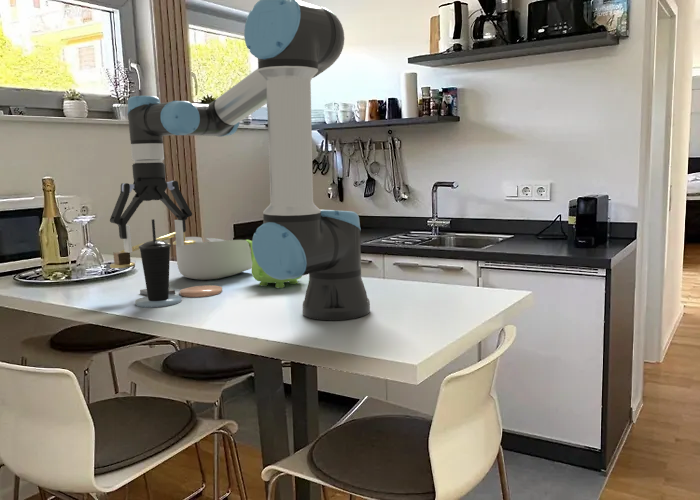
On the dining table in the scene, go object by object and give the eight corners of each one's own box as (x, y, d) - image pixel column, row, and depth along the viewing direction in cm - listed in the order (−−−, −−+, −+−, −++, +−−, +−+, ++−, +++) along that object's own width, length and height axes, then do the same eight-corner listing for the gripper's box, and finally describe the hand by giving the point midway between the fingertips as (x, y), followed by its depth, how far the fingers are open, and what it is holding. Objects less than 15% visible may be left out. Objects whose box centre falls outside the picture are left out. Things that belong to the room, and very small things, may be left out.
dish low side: (189, 301, 156) (189, 298, 156) (148, 309, 148) (147, 306, 148) (169, 295, 164) (168, 292, 164) (128, 302, 156) (128, 299, 156)
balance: (204, 288, 171) (200, 229, 169) (120, 304, 156) (114, 238, 153) (190, 284, 177) (186, 227, 175) (107, 299, 161) (102, 236, 159)
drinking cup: (165, 303, 151) (159, 220, 149) (136, 302, 153) (130, 221, 150) (179, 296, 159) (174, 217, 156) (152, 295, 160) (146, 218, 158)
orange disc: (230, 291, 166) (230, 288, 166) (193, 299, 159) (192, 296, 158) (208, 286, 174) (208, 283, 174) (172, 293, 167) (172, 290, 166)
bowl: (164, 279, 188) (161, 240, 186) (211, 269, 203) (209, 232, 202) (211, 285, 176) (208, 243, 175) (257, 273, 192) (255, 235, 190)
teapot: (245, 291, 167) (242, 244, 165) (248, 280, 181) (245, 237, 179) (305, 288, 168) (303, 241, 166) (304, 278, 182) (302, 235, 180)
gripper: (187, 160, 162) (192, 241, 165) (90, 163, 145) (98, 253, 148) (202, 160, 157) (207, 244, 160) (103, 163, 140) (111, 256, 143)
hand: (154, 248), depth 154 cm, fingers open, 13 cm apart
